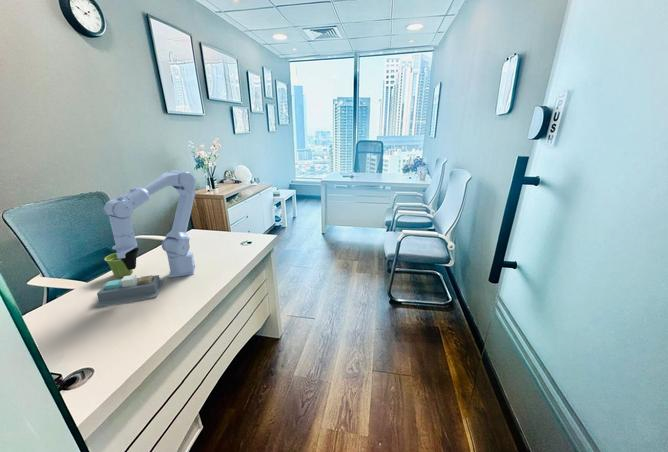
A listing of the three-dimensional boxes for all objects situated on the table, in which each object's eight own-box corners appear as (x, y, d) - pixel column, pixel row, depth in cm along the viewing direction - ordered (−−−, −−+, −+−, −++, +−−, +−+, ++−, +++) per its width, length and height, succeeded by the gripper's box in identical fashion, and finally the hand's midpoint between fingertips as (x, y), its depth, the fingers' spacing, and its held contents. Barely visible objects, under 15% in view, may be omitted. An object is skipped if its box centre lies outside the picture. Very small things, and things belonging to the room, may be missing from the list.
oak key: (153, 283, 102) (151, 275, 101) (151, 287, 99) (149, 279, 98) (142, 284, 101) (140, 276, 100) (140, 289, 98) (138, 281, 97)
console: (163, 280, 108) (161, 272, 106) (156, 297, 96) (154, 288, 95) (109, 288, 101) (106, 279, 100) (94, 307, 90) (91, 297, 88)
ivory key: (137, 282, 100) (135, 274, 99) (134, 287, 97) (132, 279, 96) (126, 284, 99) (124, 276, 98) (123, 289, 95) (120, 280, 94)
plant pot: (122, 281, 106) (117, 261, 104) (103, 278, 108) (98, 259, 105) (142, 270, 115) (138, 252, 112) (124, 268, 117) (120, 250, 114)
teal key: (122, 287, 98) (120, 279, 97) (119, 292, 95) (116, 284, 94) (110, 289, 97) (108, 281, 96) (106, 294, 94) (104, 286, 93)
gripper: (116, 228, 97) (124, 262, 101) (101, 242, 84) (111, 279, 88) (139, 226, 99) (146, 259, 104) (128, 239, 87) (136, 276, 91)
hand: (131, 268), depth 96 cm, fingers closed
